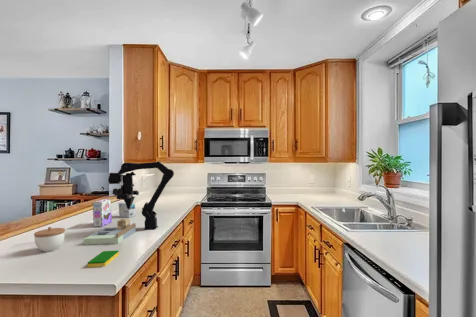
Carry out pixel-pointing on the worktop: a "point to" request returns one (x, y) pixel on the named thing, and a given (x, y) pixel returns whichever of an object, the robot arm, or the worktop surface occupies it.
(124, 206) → the light bulb box
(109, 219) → the candy box
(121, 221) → the oak block
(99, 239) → the board
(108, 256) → the dish sponge
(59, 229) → the lidded bowl
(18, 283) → the worktop surface
